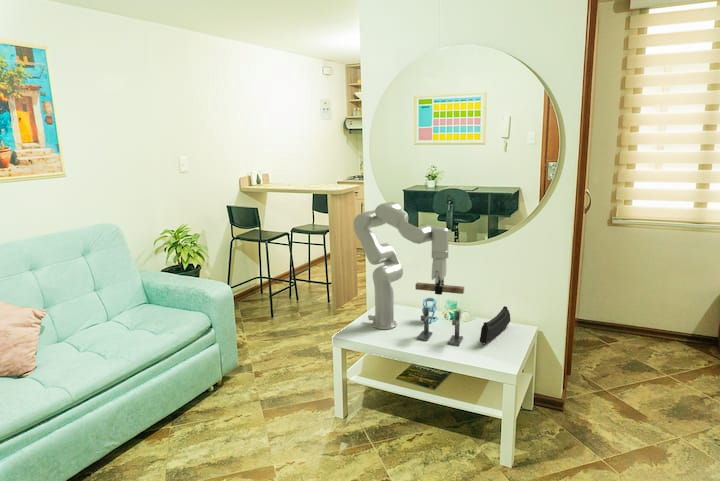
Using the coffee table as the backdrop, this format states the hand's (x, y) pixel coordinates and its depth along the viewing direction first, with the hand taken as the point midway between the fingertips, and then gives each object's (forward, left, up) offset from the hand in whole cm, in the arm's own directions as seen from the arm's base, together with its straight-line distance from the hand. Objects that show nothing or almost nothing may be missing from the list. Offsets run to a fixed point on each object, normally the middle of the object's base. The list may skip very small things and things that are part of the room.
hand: (439, 292), depth 224 cm
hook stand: (0, +2, -24) cm, 24 cm away
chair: (-11, +24, -24) cm, 36 cm away
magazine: (+24, +18, -25) cm, 38 cm away
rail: (0, 0, +2) cm, 2 cm away
